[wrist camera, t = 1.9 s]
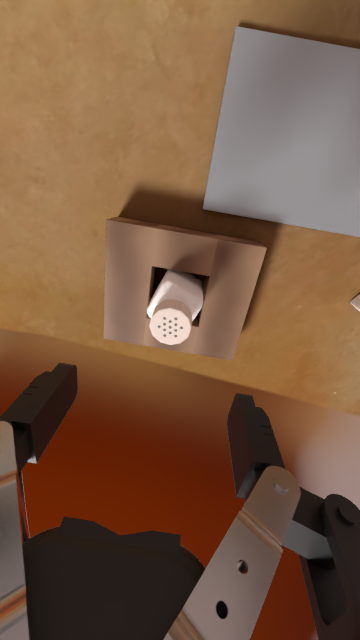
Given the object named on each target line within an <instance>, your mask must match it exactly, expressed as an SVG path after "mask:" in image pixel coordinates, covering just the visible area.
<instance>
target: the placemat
mask: <svg viewBox="0 0 360 640" xmlns="http://www.w3.org/2000/svg"><path fill="white" fill-rule="evenodd" d="M203 209H205V210H210V211H216V212H221V213H227V214H233V215H238V216H244V217H250V218H255V219H261V220H266V221H272V222H278V223H283V224H289V225H295V226H300V227H306V228H311V229H317V230H323V231H328V232H334V233H340V234H345V235H351V236H357V237H360V49H356V48H351V47H346V46H340V45H335V44H329V43H324V42H319V41H313V40H308V39H303V38H297V37H292V36H287V35H281V34H276V33H270V32H265V31H260V30H254V29H249V28H244V27H238V26H236V29H235V34H234V39H233V44H232V50H231V55H230V61H229V66H228V72H227V77H226V83H225V88H224V94H223V99H222V105H221V110H220V116H219V121H218V127H217V132H216V138H215V143H214V148H213V154H212V159H211V165H210V170H209V176H208V181H207V187H206V192H205V198H204V203H203Z"/></svg>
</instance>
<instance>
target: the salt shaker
mask: <svg viewBox="0 0 360 640" xmlns="http://www.w3.org/2000/svg"><path fill="white" fill-rule="evenodd" d="M202 305H203V288H202V282H201V281H200V279H198V278H196V277H195V276H193V275H192V274H190V273H188V272H183V271H177V270H172V269H168V270H167V272H166V273H165V275H164V277H163V278H162V280H161V282H160V283H159V285H158V287H157V289H156V291H155V293H154V295H153V297H152V299H151V302H150V304H149V306H148V308H147V314H148V315H149V317H150V318H151V321H150V325H149V327H150V330H151V333H152V335H153V336H154V337H155V338H156V339H157V340H158V341H159V342H161V343H165V344H168V345H173V344H179V343H181V342H183V341H184V340H185V339H187V338H188V337H189V334H190V331H191V328H192V321H193V320H194V319H195V317H196V316H197V314H198V313H199V311H200V310H201V308H202Z"/></svg>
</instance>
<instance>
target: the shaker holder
mask: <svg viewBox="0 0 360 640" xmlns="http://www.w3.org/2000/svg"><path fill="white" fill-rule="evenodd" d="M266 250H267V248H266V247H265V246H264V245H262V244H261V243H260V242H258V241H253V240H248V239H242V238H236V237H231V236H225V235H219V234H214V233H208V232H202V231H197V230H191V229H185V228H180V227H174V226H168V225H163V224H157V223H151V222H146V221H140V220H134V219H129V218H123V217H115V218H111V219H107V220H106V254H105V300H104V339H110V340H116V341H122V342H127V343H133V344H139V345H145V346H151V347H157V348H163V349H168V350H174V351H180V352H186V353H192V354H198V355H203V356H209V357H215V358H221V359H227V360H232V359H233V356H234V353H235V349H236V346H237V343H238V340H239V337H240V333H241V330H242V327H243V324H244V321H245V317H246V314H247V311H248V308H249V304H250V301H251V298H252V295H253V292H254V288H255V285H256V282H257V279H258V276H259V272H260V269H261V266H262V263H263V260H264V256H265V253H266ZM156 267H160V268H166V269H172V270H177V271H183V272H189V273H195V274H200V275H206V280H205V285H204V290H203V305H202V308H201V310H200V311H199V313H198V314H197V316H196V317H195V319H194V320H193V321H192V328H191V331H190V334H189V337H188V338H187V339H185V340H184V341H183V342H181V343H179V344H173V345H168V344H165V343H161V342H159V341H158V340H157V339H156V338H155V337H154V336H153V335H152V333H151V330H150V327H149V325H150V321H151V318H150V317H149V315H148V314H147V308H148V306H149V304H150V302H151V299H152V297H153V292H154V283H155V275H156Z"/></svg>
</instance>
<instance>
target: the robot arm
mask: <svg viewBox="0 0 360 640" xmlns="http://www.w3.org/2000/svg"><path fill="white" fill-rule="evenodd" d="M77 390H78V384H77V367H76V365H71V364H65V363H59V364H58V365H57V366H56V367H55V369H54V370H53V371H52V372H47V371H46V372H44V373H43V374H41V375H39V376H37V377H36V378H35V379H34V380H33V381H32V382H31V383H30V384H29V386H28V387H27V388H26V389H25V390H24V391H23V392H22V394H21V395H20V396H19V397H18V398H17V399H16V400H15V401H14V402H13V403H12V405H11V406H10V407H9V408H8V409H7V410H6V411H5V412H4V413H3V415H2V416H1V417H0V640H250V637H251V634H252V632H253V629H254V626H255V624H256V621H257V619H258V616H259V613H260V611H261V608H262V605H263V602H264V600H265V597H266V595H267V592H268V589H269V586H270V584H271V581H272V578H273V576H274V573H275V571H276V568H277V565H278V563H279V560H280V557H281V554H282V551H283V547H282V545H284V546H286V547H287V548H289V549H291V550H292V551H294V552H296V553H298V555H299V559H300V563H301V567H302V572H303V576H304V580H305V584H306V588H307V593H308V597H309V601H310V605H311V609H312V614H313V618H314V622H315V626H316V630H317V634H318V638H319V640H360V510H359V509H358V508H357V507H356V505H354V504H353V503H352V502H351V501H350V500H348V499H346V498H345V497H343V496H341V495H337V494H330V495H328V496H327V497H326V498H325V499H322V498H321V497H319V496H317V495H315V494H312V493H310V492H308V491H306V490H305V489H303V488H301V487H300V486H299V484H298V482H297V481H296V479H295V478H294V477H293V476H292V475H291V473H289V472H288V471H287V470H286V469H285V466H284V463H283V460H282V458H281V454H280V451H279V448H278V445H277V442H276V439H275V437H274V433H273V430H272V428H271V424H270V421H269V417H268V416H267V414H266V413H265V412H264V411H263V409H262V408H259V407H255V403H254V400H253V397H252V396H251V395H246V394H241V393H236V394H235V397H234V400H233V402H232V405H231V408H230V411H229V414H228V419H227V429H228V436H229V445H230V453H231V460H232V468H233V476H234V483H235V491H236V497H242V498H245V504H244V506H243V508H242V509H241V510H240V511H239V513H238V515H237V517H236V518H235V520H234V521H233V523H232V525H231V527H230V528H229V530H228V532H227V533H226V535H225V537H224V539H223V540H222V542H221V544H220V545H219V547H218V549H217V550H216V552H215V554H214V556H213V557H212V559H211V561H210V563H209V564H208V566H207V568H206V569H205V567H204V566H203V564H202V563H201V562H200V561H199V559H198V558H196V556H195V555H194V554H192V553H191V552H190V551H189V550H187V549H186V548H185V547H183V546H181V545H180V535H177V534H170V533H164V532H158V531H147V532H140V533H135V534H128V535H118V534H116V533H114V532H112V531H110V530H108V529H107V528H105V527H103V526H101V525H99V524H97V523H95V522H93V521H88V520H82V519H76V518H69V517H64V518H63V521H62V523H61V525H60V527H55V528H52V529H48V530H46V531H43V532H41V533H39V534H37V535H35V536H34V537H32V538H30V535H29V528H28V522H27V515H26V506H25V497H24V488H23V479H22V472H21V471H22V469H23V467H24V466H25V464H26V463H27V462H31V463H37V462H38V460H39V459H40V457H41V455H42V454H43V452H44V450H45V449H46V447H47V445H48V444H49V442H50V440H51V439H52V437H53V435H54V434H55V432H56V431H57V429H58V427H59V425H60V424H61V422H62V421H63V419H64V417H65V416H66V414H67V412H68V411H69V409H70V407H71V406H72V404H73V402H74V401H75V398H76V395H77Z"/></svg>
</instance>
